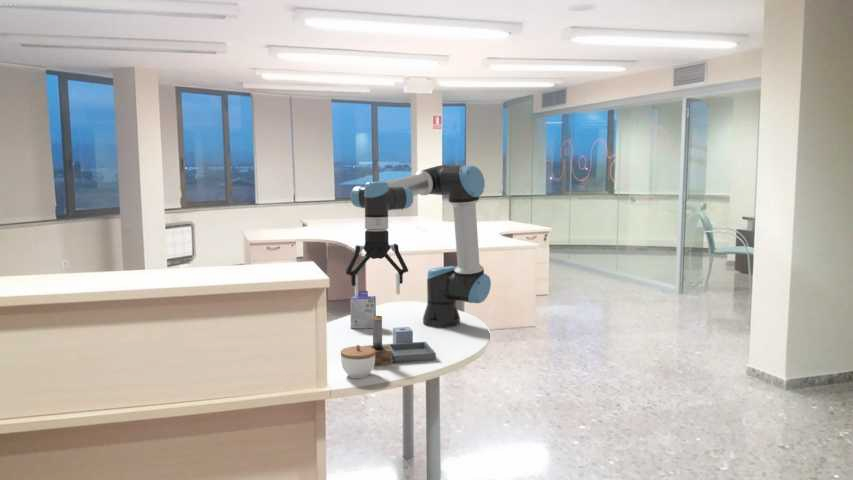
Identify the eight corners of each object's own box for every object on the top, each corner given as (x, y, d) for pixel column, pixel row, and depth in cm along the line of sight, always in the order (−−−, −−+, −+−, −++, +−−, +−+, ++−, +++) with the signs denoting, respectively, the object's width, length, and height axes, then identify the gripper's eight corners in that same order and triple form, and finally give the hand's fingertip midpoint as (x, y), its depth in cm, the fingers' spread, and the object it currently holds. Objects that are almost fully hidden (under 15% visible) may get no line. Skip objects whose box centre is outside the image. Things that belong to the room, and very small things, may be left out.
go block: (387, 357, 219) (387, 344, 218) (391, 364, 211) (391, 350, 211) (363, 358, 217) (363, 345, 217) (367, 366, 209) (367, 352, 209)
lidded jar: (377, 369, 206) (377, 340, 205) (374, 381, 195) (373, 350, 194) (343, 369, 206) (343, 340, 205) (338, 380, 196) (338, 350, 194)
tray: (425, 348, 229) (425, 341, 229) (435, 360, 216) (435, 352, 215) (386, 351, 226) (386, 344, 226) (394, 363, 212) (394, 355, 212)
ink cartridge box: (376, 325, 262) (376, 290, 260) (375, 328, 256) (375, 292, 255) (351, 325, 262) (351, 290, 260) (350, 328, 256) (349, 292, 254)
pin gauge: (381, 356, 216) (381, 315, 214) (383, 359, 213) (382, 317, 211) (372, 357, 215) (371, 316, 213) (373, 360, 212) (373, 318, 210)
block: (409, 342, 237) (409, 326, 236) (412, 347, 231) (412, 330, 231) (392, 343, 236) (392, 327, 235) (396, 348, 230) (396, 331, 229)
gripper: (339, 232, 202) (340, 298, 205) (417, 230, 208) (417, 294, 211) (336, 229, 210) (337, 294, 212) (411, 227, 216) (412, 290, 218)
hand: (377, 294), depth 212 cm, fingers open, 13 cm apart
